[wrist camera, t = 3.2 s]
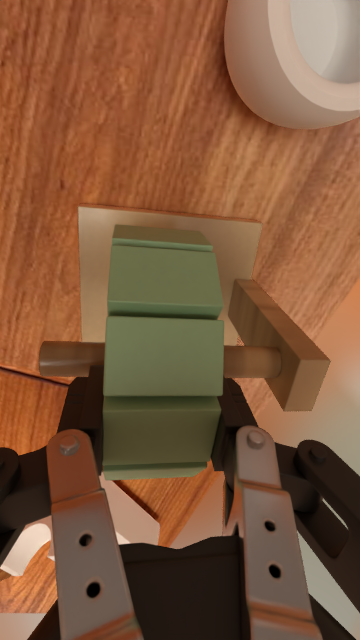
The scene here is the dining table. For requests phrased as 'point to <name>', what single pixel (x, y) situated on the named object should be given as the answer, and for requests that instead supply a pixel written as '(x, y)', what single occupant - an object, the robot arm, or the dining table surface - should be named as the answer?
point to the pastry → (4, 575)
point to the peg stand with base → (238, 315)
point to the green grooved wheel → (161, 354)
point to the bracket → (126, 519)
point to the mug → (295, 60)
